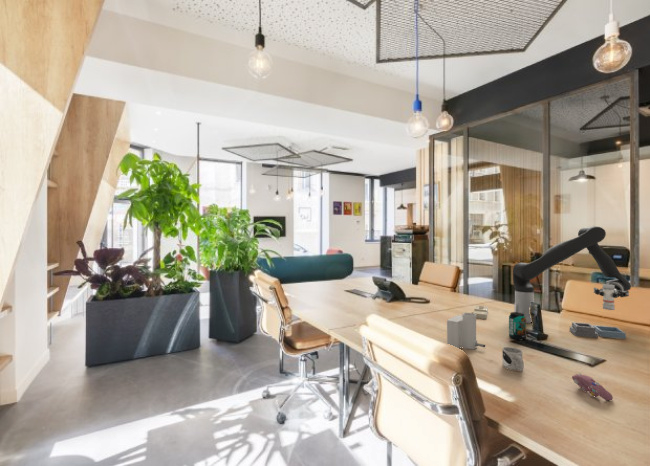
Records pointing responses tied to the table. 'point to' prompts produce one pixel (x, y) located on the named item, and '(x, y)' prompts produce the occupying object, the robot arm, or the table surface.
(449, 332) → the grey stepped block
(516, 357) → the mug
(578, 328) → the block
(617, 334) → the tray
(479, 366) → the table surface
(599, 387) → the video game controller
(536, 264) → the robot arm
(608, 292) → the cylinder
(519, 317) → the beverage can
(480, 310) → the electrical outlet
